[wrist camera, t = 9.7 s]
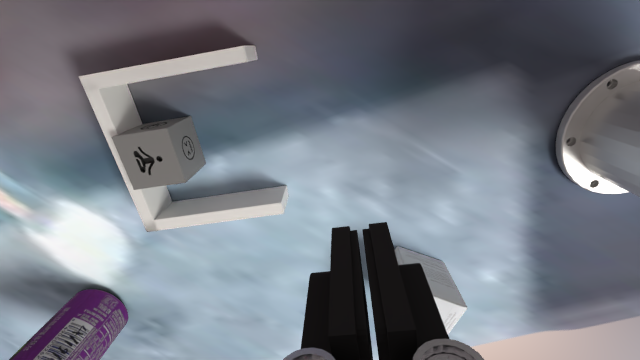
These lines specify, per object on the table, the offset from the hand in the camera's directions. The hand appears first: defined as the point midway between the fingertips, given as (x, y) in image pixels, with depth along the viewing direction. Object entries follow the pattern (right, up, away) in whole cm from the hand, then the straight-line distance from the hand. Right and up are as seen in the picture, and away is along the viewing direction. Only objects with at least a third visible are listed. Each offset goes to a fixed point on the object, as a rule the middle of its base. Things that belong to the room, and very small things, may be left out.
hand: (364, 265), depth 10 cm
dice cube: (-16, +6, +23) cm, 29 cm away
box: (-13, +7, +22) cm, 26 cm away
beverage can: (-29, -14, +32) cm, 45 cm away
